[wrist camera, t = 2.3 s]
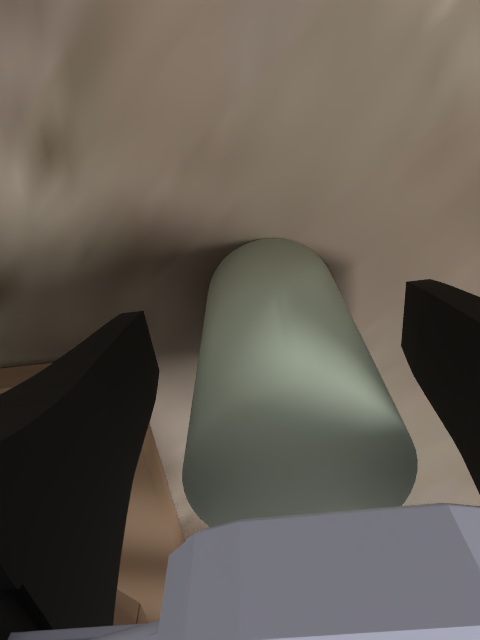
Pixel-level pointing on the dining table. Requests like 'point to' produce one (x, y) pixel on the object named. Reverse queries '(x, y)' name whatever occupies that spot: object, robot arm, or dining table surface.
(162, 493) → the peg stand
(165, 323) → the dining table surface
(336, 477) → the loose peg
